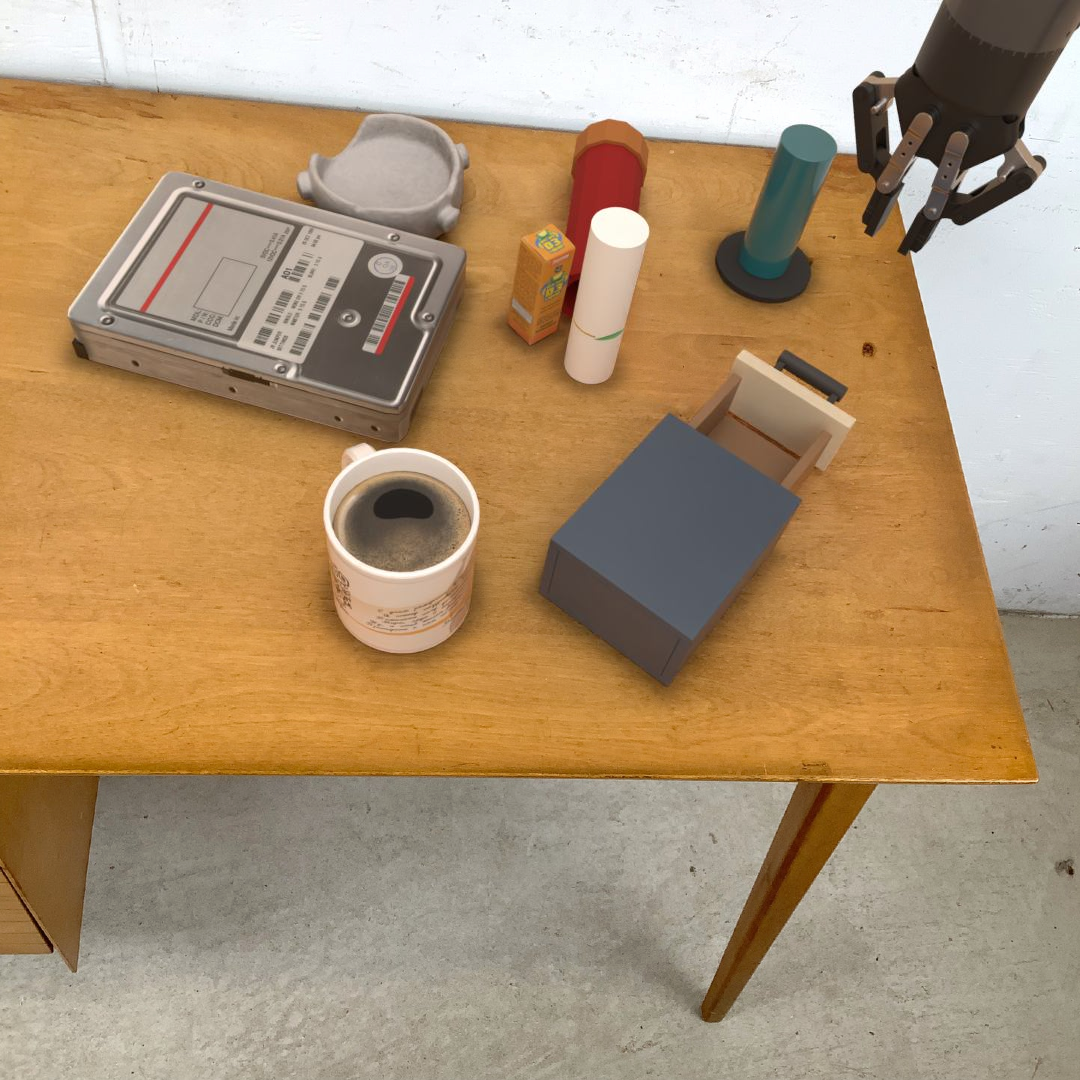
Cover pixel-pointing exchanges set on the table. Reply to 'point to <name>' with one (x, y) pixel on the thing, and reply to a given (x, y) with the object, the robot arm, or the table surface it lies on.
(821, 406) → the drawer
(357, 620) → the mug
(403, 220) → the dish
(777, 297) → the coaster
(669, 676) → the cabinet
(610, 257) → the tube
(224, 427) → the table surface
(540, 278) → the supplement box
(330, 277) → the hard drive
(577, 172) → the shell casing
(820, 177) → the canister
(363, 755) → the table surface
